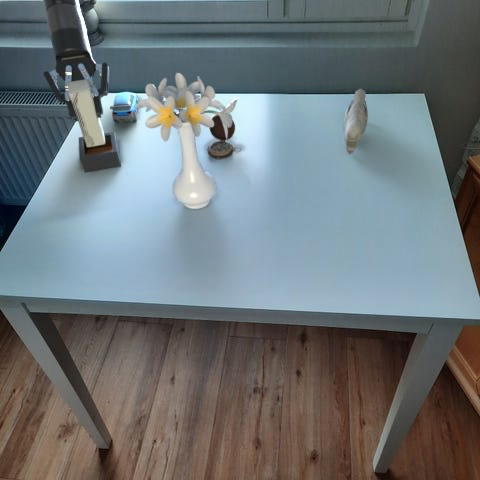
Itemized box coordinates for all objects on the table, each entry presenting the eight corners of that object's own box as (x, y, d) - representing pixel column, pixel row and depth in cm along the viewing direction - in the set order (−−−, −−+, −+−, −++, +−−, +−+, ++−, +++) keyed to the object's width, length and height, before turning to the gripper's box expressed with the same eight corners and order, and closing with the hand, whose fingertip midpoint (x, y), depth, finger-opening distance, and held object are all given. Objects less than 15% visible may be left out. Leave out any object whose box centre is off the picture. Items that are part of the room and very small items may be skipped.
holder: (84, 173, 109) (79, 157, 106) (83, 152, 114) (78, 137, 111) (121, 166, 110) (116, 151, 107) (118, 146, 115) (114, 131, 112)
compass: (205, 159, 110) (202, 130, 104) (211, 140, 115) (209, 111, 109) (239, 161, 109) (237, 132, 103) (244, 142, 114) (242, 113, 108)
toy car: (140, 102, 127) (136, 81, 123) (136, 126, 120) (131, 105, 116) (119, 103, 127) (113, 82, 123) (113, 128, 120) (107, 106, 116)
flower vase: (242, 216, 97) (237, 99, 78) (154, 221, 98) (126, 105, 78) (241, 178, 105) (235, 62, 85) (159, 182, 106) (135, 68, 86)
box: (85, 136, 110) (67, 80, 99) (104, 132, 110) (87, 77, 100) (87, 148, 107) (67, 93, 96) (106, 145, 107) (89, 89, 97)
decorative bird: (337, 154, 109) (342, 124, 103) (345, 117, 118) (349, 87, 113) (361, 156, 108) (367, 126, 102) (367, 119, 118) (372, 89, 112)
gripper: (28, 31, 95) (49, 118, 97) (99, 21, 96) (118, 107, 99) (39, 47, 102) (58, 128, 105) (105, 38, 104) (122, 118, 106)
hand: (87, 118), depth 102 cm, fingers closed on box, 4 cm apart
